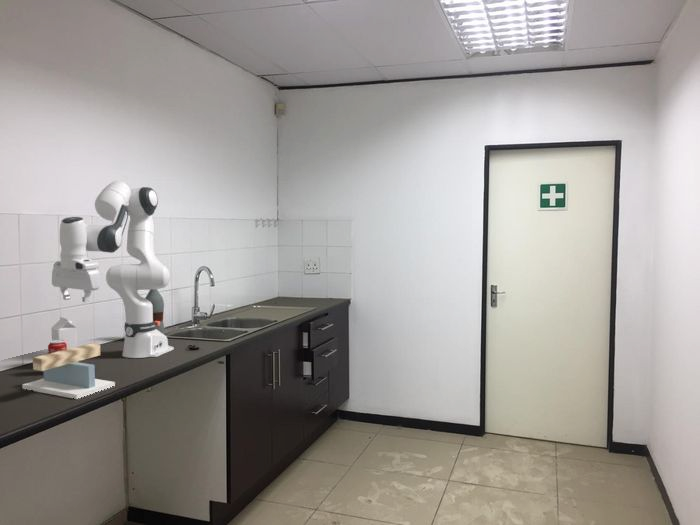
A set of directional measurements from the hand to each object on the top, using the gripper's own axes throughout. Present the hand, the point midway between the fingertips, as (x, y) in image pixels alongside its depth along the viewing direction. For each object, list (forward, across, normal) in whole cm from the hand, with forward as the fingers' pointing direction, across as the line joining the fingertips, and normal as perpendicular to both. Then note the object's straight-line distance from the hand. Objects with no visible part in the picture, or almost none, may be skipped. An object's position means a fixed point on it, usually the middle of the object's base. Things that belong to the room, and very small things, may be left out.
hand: (76, 300), depth 211 cm
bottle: (+32, -21, +62) cm, 73 cm away
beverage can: (+30, -14, +2) cm, 33 cm away
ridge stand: (+28, +6, -10) cm, 31 cm away
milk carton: (+30, -21, +11) cm, 38 cm away
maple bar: (+19, +6, -10) cm, 22 cm away
